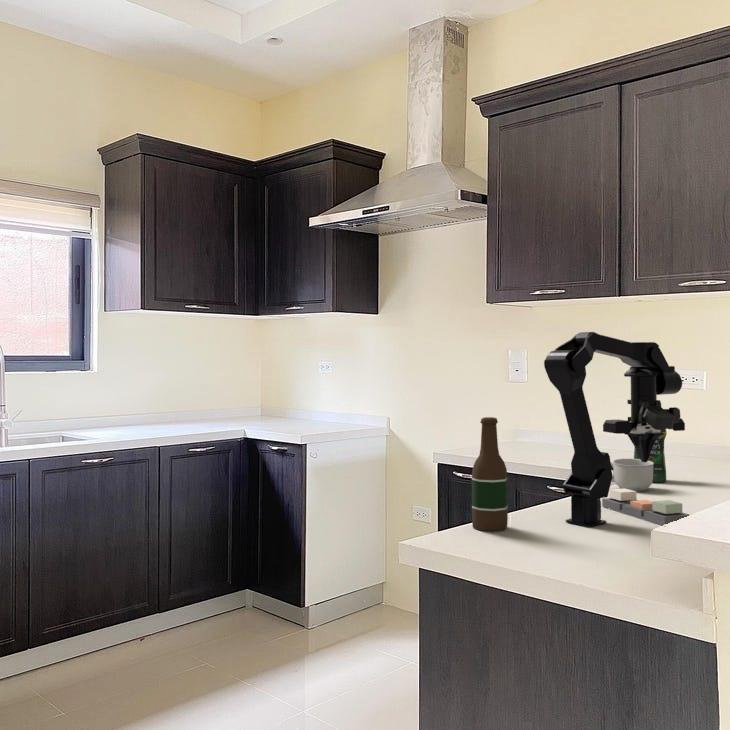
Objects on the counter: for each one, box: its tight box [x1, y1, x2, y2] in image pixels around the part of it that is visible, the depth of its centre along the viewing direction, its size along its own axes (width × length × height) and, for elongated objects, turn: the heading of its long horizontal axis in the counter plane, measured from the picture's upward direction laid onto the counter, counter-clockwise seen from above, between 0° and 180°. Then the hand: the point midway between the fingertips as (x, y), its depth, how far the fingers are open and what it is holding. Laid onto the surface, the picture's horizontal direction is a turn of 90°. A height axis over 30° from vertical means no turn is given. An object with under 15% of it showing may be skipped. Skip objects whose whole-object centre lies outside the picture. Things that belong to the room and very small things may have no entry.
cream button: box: [609, 488, 638, 501], centre depth 181 cm, size 4×4×2 cm
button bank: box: [601, 497, 690, 526], centre depth 173 cm, size 23×7×2 cm, turn 16°
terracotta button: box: [630, 499, 653, 509], centre depth 173 cm, size 4×4×2 cm
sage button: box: [651, 499, 683, 514], centre depth 166 cm, size 4×4×2 cm
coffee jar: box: [633, 429, 668, 484], centre depth 221 cm, size 10×8×19 cm
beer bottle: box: [471, 416, 509, 533], centre depth 161 cm, size 8×8×24 cm
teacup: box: [610, 458, 654, 492], centre depth 208 cm, size 14×11×8 cm
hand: (644, 462), depth 175 cm, fingers closed
